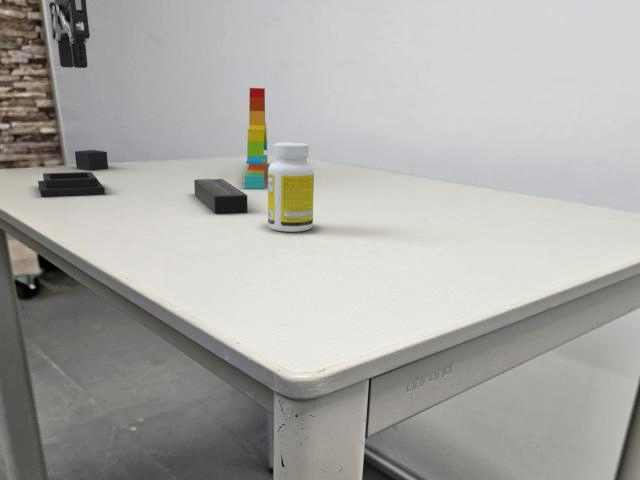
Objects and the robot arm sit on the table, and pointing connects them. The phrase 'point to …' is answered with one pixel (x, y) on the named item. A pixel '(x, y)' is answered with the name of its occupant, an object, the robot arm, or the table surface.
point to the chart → (256, 141)
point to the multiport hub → (220, 196)
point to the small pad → (91, 159)
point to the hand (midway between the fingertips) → (73, 67)
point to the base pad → (70, 184)
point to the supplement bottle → (290, 188)
